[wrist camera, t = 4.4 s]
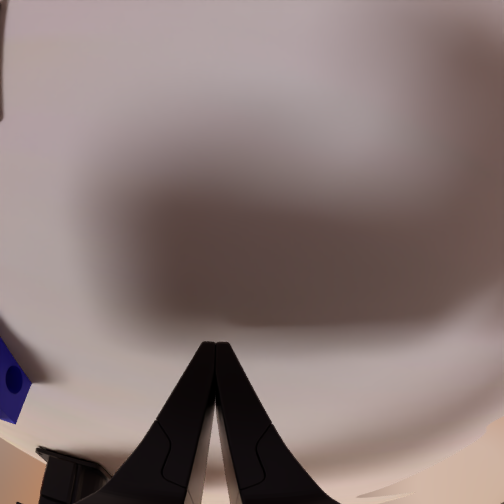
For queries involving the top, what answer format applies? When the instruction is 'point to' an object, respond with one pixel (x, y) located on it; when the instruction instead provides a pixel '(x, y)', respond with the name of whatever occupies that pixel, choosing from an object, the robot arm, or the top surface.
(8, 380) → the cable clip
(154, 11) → the top surface
